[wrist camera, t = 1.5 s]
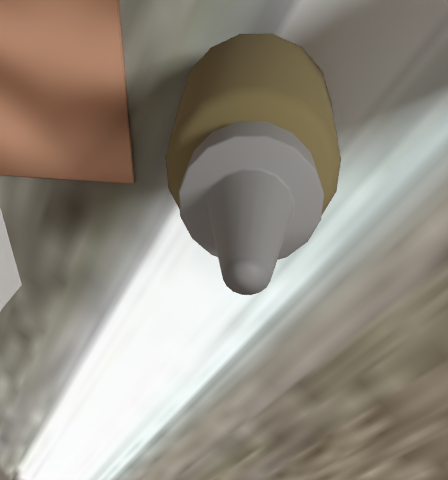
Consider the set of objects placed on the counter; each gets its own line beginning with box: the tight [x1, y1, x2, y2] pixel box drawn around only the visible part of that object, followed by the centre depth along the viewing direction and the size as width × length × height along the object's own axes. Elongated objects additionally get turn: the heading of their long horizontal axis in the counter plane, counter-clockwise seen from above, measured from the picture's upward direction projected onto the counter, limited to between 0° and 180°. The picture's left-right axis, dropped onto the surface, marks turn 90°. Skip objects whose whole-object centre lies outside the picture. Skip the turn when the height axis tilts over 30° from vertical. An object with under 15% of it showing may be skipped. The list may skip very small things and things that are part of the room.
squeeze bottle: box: [166, 34, 341, 295], centre depth 17 cm, size 8×8×18 cm
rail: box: [0, 0, 134, 184], centre depth 23 cm, size 16×28×3 cm, turn 88°
